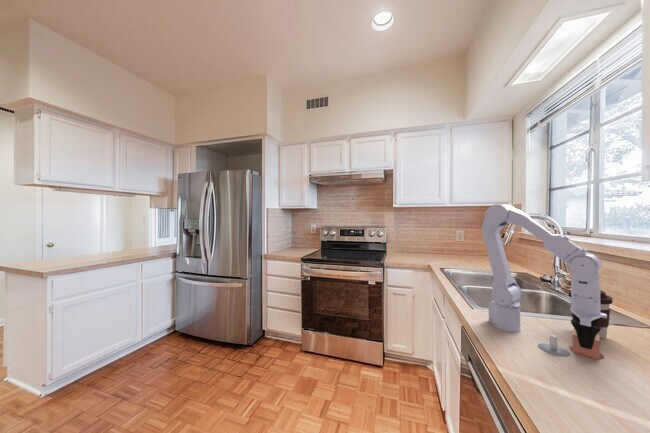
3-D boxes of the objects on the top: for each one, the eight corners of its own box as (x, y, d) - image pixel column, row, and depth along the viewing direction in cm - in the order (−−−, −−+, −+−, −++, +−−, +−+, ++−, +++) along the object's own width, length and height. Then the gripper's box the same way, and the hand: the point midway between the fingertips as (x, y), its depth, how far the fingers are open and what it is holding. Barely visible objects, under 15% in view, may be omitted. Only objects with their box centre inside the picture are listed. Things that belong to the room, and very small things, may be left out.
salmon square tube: (572, 351, 70) (572, 334, 70) (573, 344, 74) (573, 328, 74) (599, 359, 66) (599, 341, 66) (599, 351, 70) (599, 334, 70)
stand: (531, 346, 75) (531, 330, 75) (554, 345, 75) (553, 330, 75) (553, 359, 68) (553, 342, 68) (577, 359, 68) (577, 342, 68)
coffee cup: (598, 344, 75) (597, 295, 75) (561, 329, 85) (560, 286, 85) (621, 340, 78) (620, 293, 77) (582, 326, 87) (582, 284, 87)
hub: (562, 348, 74) (561, 332, 74) (584, 347, 74) (584, 331, 74) (587, 362, 67) (587, 344, 67) (612, 361, 67) (612, 344, 67)
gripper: (608, 306, 62) (608, 359, 62) (605, 292, 72) (605, 338, 72) (569, 299, 67) (569, 348, 67) (571, 287, 77) (571, 330, 77)
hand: (585, 342), depth 70 cm, fingers open, 7 cm apart
